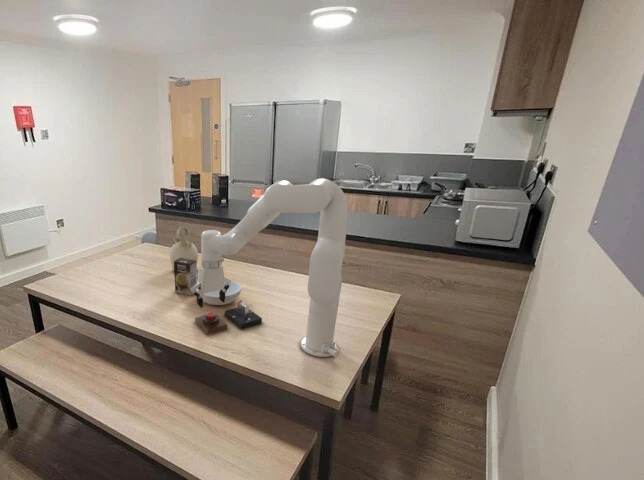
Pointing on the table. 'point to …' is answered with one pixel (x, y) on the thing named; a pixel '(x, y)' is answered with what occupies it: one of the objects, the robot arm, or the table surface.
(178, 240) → the jug
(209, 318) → the button
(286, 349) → the table surface
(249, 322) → the tap console
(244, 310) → the rotary selector knob
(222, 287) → the robot arm
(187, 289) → the coffee box
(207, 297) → the serving bowl
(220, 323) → the control block
